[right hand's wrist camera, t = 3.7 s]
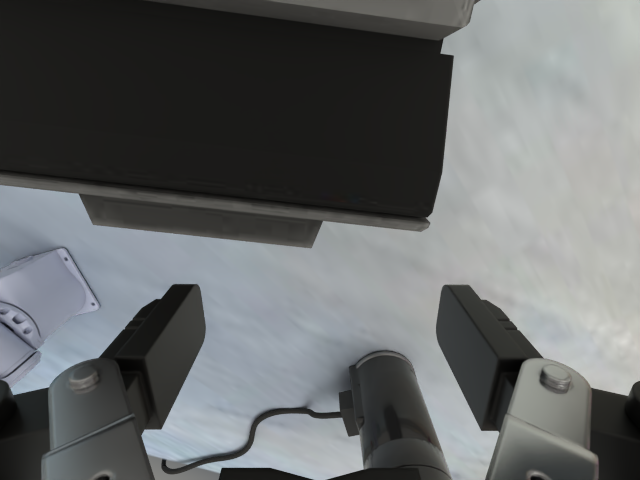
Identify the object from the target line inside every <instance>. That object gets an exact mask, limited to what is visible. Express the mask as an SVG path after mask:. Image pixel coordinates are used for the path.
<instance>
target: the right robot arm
mask: <svg viewBox="0 0 640 480" xmlns="http://www.w3.org/2000/svg"><path fill="white" fill-rule="evenodd" d="M205 331H206V326H205V318H204V311H203V304H202V297H201V291H200V287H199V286H198V285H197V284H174V285H172V286H171V287H170V289H169V290H168V291H167V292H166V294H165V295H164V296H163V297H162V298H161V299H156V300H154V301H152V302H151V303H149V304H148V305H146V306H144V307H143V308H142V309H141V310H140V311H139V312H138V313H137V314H136V315H135V317H134V318H133V321H130V322H129V324H128V325H127V326H126V327H125V330H122V332H121V333H120V334H119V335H118V336H117V337H116V338H115V340H114V341H113V342H112V343H111V344H110V345H109V347H108V348H107V349H106V350H105V351H104V352H103V353H102V355H101V356H100V357H99V358H96V359H91V360H87V361H84V362H81V363H78V364H76V365H74V366H72V367H70V368H68V369H67V370H65V371H64V372H62V373H61V374H60V375H59V376H57V377H56V378H55V379H54V381H53V382H52V383H51V385H50V387H49V388H44V389H40V390H35V391H31V392H26V393H21V394H17V395H13V394H12V391H11V389H10V387H9V385H8V383H7V382H6V381H4V380H0V480H155V479H154V475H153V472H152V469H151V466H150V463H149V459H148V456H147V453H146V450H145V446H144V443H143V440H142V437H141V435H142V433H143V431H144V429H162V427H163V425H164V423H165V421H166V419H167V416H168V414H169V412H170V410H171V408H172V406H173V404H174V402H175V400H176V398H177V396H178V394H179V392H180V390H181V388H182V386H183V384H184V381H185V379H186V377H187V375H188V373H189V371H190V369H191V367H192V365H193V363H194V361H195V359H196V357H197V355H198V353H199V351H200V349H201V347H202V344H203V342H204V338H205ZM436 334H437V340H438V343H439V346H440V348H441V350H442V352H443V354H444V356H445V358H446V360H447V362H448V364H449V366H450V368H451V370H452V372H453V374H454V376H455V378H456V380H457V382H458V384H459V386H460V388H461V390H462V392H463V394H464V396H465V398H466V400H467V403H468V405H469V407H470V409H471V411H472V413H473V415H474V417H475V419H476V421H477V423H478V425H479V427H480V429H481V431H499V433H500V434H499V437H498V440H497V443H496V446H495V450H494V453H493V456H492V459H491V463H490V466H489V469H488V472H487V475H486V479H485V480H640V381H638V382H636V383H635V384H634V385H633V387H632V389H631V391H630V393H629V396H625V395H621V394H616V393H612V392H607V391H603V390H598V389H594V388H591V387H590V385H589V383H588V382H587V381H586V379H585V378H584V377H583V376H581V375H580V374H579V373H578V372H576V371H575V370H573V369H572V368H570V367H568V366H566V365H564V364H562V363H559V362H556V361H553V360H549V359H544V358H543V357H542V356H541V355H540V354H539V352H538V351H537V350H536V349H535V348H534V347H533V346H532V344H531V343H530V342H529V341H528V340H527V339H526V338H525V336H524V335H523V334H522V333H521V332H520V331H519V330H517V327H516V326H515V325H514V324H513V323H512V322H511V321H510V319H509V318H508V317H507V316H506V315H505V314H504V312H503V311H502V310H501V309H500V308H498V307H497V306H495V305H494V304H492V303H490V302H489V301H487V300H481V299H480V298H479V296H478V295H477V294H476V293H475V292H474V290H473V289H472V288H471V287H470V286H469V285H444V286H443V288H442V291H441V297H440V303H439V310H438V317H437V324H436ZM349 371H350V380H351V388H352V390H349V391H344V392H340V393H339V403H340V412H330V413H316V412H314V411H312V410H311V409H307V408H285V409H277V410H272V411H269V412H267V413H264V414H263V415H261V416H259V417H258V418H257V419H256V420H255V421H254V423H253V425H252V427H251V431H250V437H249V441H248V444H247V445H246V447H245V448H243V449H242V450H240V451H239V452H236V453H234V454H230V455H224V456H217V457H211V458H206V459H202V460H199V461H197V462H194V463H192V464H189V465H186V466H184V467H181V468H177V469H170V468H168V467H167V466H166V460H167V459H163V458H162V463H161V467H162V470H163V471H164V472H165V473H167V474H178V473H181V472H184V471H187V470H190V469H192V468H195V467H197V466H200V465H203V464H207V463H211V462H217V461H225V460H230V459H234V458H237V457H240V456H242V455H243V454H245V453H246V452H247V451H248V450H249V449H250V448H251V446H252V444H253V441H254V435H255V430H256V427H257V425H258V424H259V423H260V422H261V421H262V420H264V419H266V418H268V417H271V416H274V415H279V414H289V413H299V414H309V415H310V416H311V417H314V418H320V419H327V418H343V421H344V424H345V427H346V430H347V433H348V436H349V437H350V436H355V435H360V442H361V450H362V458H363V466H364V470H360V471H357V472H353V473H349V474H346V475H342V476H338V477H335V478H331V479H327V480H452V477H451V474H450V471H449V469H448V466H447V463H446V460H445V457H444V455H443V452H442V449H441V446H440V443H439V441H438V438H437V435H436V432H435V429H434V427H433V424H432V421H431V418H430V415H429V413H428V410H427V407H426V404H425V401H424V399H423V396H422V393H421V390H420V387H419V385H418V382H417V378H416V375H415V372H414V369H413V366H412V364H411V363H410V361H409V360H408V359H407V358H406V357H404V356H402V355H401V354H398V353H395V352H390V351H380V352H375V353H372V354H369V355H367V356H365V357H364V358H362V359H361V360H360V361H359V362H358V363H357V364H356V365H354V366H350V367H349ZM219 480H313V479H309V478H305V477H302V476H298V475H294V474H291V473H287V472H283V471H280V470H276V469H272V468H222V469H221V473H220V477H219Z"/></svg>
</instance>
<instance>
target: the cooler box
mask: <svg viewBox="0 0 640 480" xmlns="http://www.w3.org/2000/svg"><path fill="white" fill-rule="evenodd" d="M478 1H480V0H0V185H6V186H15V187H24V188H33V189H42V190H51V191H60V192H69V193H78V194H79V195H80V198H81V200H82V202H83V204H84V206H85V208H86V211H87V213H88V215H89V217H90V219H91V221H92V223H93V225H100V226H109V227H119V228H128V229H137V230H147V231H156V232H165V233H175V234H184V235H193V236H202V237H212V238H221V239H230V240H240V241H249V242H258V243H268V244H277V245H286V246H295V247H305V248H312V246H313V243H314V241H315V238H316V236H317V234H318V231H319V229H320V227H321V224H322V222H323V221H330V222H339V223H348V224H357V225H366V226H375V227H384V228H393V229H402V230H411V231H420V232H421V231H423V230H425V229H427V228H428V227H429V225H430V222H429V221H428V220H427V219H426V218H425V217H428V216H429V215H430V214H431V213H432V211H433V207H434V203H435V199H436V195H437V191H438V187H439V183H440V179H441V175H442V169H443V159H444V149H445V139H446V128H447V118H448V108H449V98H450V88H451V78H452V68H453V58H454V56H453V55H445V54H440V52H441V48H442V43H443V38H445V37H446V36H448V35H450V34H452V33H454V32H456V31H458V30H459V29H461V28H463V27H465V26H467V24H468V23H469V22H470V18H471V14H472V10H473V6H474V4H475V3H477V2H478Z"/></svg>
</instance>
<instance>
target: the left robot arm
mask: <svg viewBox="0 0 640 480" xmlns="http://www.w3.org/2000/svg"><path fill="white" fill-rule="evenodd" d="M66 258H67V259H68V260H67V259H66ZM93 303H95V304H93ZM99 308H100V305H99V303H98V301H97V300H96V298H95V296H94V295H93V293H92V291H91V290H90V288H89V286H88V285H87V283H86V281H85V280H84V278H83V276H82V275H81V273H80V271H79V270H78V268H77V266H76V265H75V263H74V261H73V260H72V258H71V256H70V255H69V253H68V251H67V250H66V249H65V248H60V249H56V250H52V251H49V252H45V253H42V254H38V255H35V256H28V257H25V258H22V259H20V260H17V261H14V262H12V263H11V264H10V265H8V266H6V267H4V268H2V269H0V380H4V381H6V382H7V383H8V385H9V387H10V388H11V387H12V386H13V385H14V384H16V383H17V382H18V381H19V380H20V379H22V378H23V377H24V376H25V375H26V374H27V373H28V372H30V371H31V370H32V369H33V368H34V367H35V366H36V365H37V364H38V363H39V362H40V356H41V352H39V351H36V352H35V350H37V349H38V348H39V347H40V346H41V345H42V344H44V340H46V339H47V338H48V337H49V336H50V335H51V334H53V333H54V332H55V331H56V330H57V329H58V328H60V327H61V326H62V325H63V324H64V323H65V322H67V321H68V320H69V319H70V318H71V317H72V316H76V315H80V314H84V313H87V312H91V311H95V310H98V309H99Z"/></svg>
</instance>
